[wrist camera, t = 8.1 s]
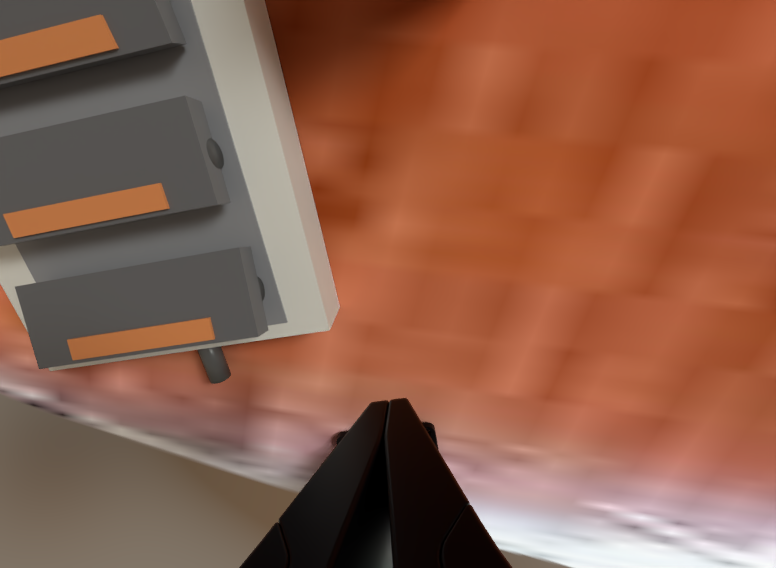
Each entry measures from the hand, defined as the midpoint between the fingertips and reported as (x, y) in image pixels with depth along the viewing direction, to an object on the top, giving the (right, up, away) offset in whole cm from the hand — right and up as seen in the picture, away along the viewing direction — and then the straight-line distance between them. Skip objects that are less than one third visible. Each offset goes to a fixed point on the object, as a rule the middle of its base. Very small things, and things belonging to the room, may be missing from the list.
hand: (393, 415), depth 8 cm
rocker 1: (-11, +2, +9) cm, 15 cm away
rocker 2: (-13, +8, +7) cm, 16 cm away
